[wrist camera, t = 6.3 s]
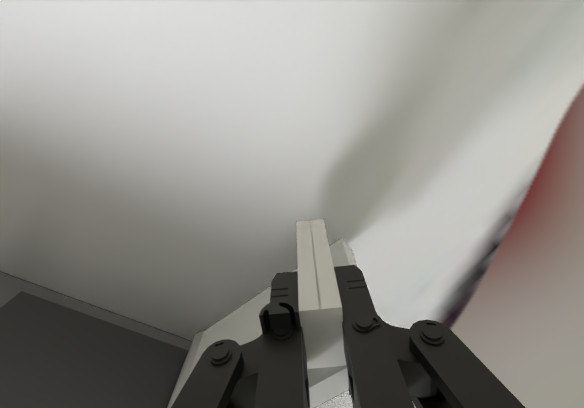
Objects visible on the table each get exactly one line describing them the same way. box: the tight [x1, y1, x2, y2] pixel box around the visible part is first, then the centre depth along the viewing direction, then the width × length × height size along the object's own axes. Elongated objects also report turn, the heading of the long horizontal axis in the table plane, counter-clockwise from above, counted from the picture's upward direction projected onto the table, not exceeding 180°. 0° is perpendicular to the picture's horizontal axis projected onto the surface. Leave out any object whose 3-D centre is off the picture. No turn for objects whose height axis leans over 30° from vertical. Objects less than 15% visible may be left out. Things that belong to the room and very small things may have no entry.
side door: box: [167, 238, 357, 408], centre depth 16 cm, size 2×13×8 cm, turn 129°
